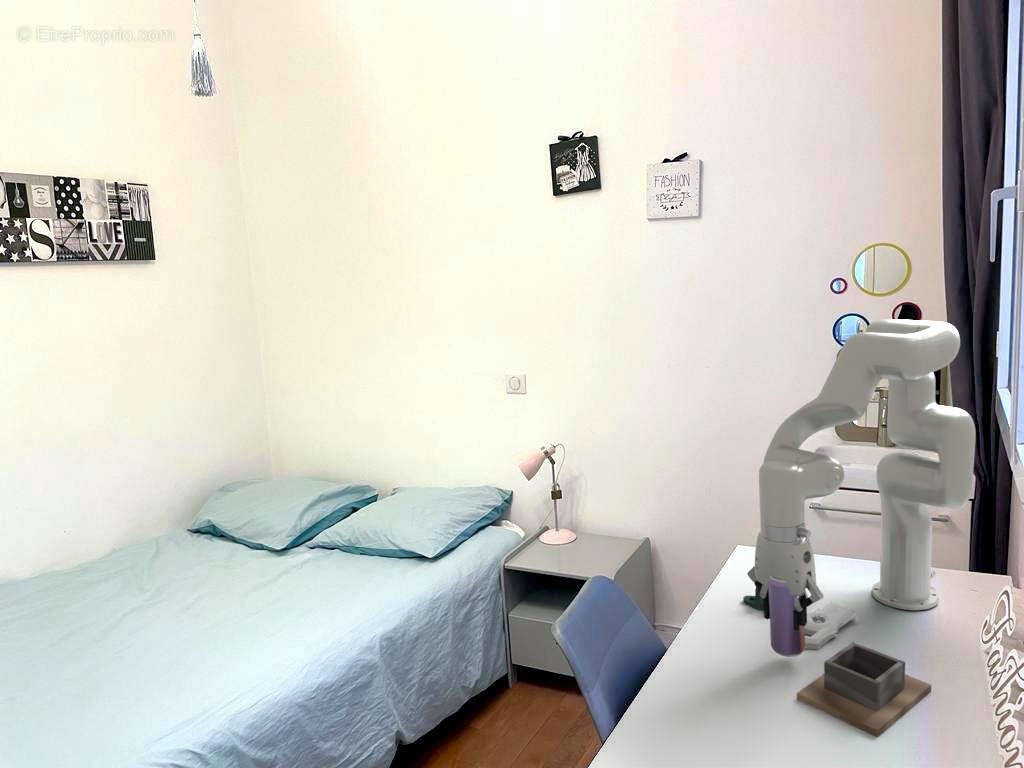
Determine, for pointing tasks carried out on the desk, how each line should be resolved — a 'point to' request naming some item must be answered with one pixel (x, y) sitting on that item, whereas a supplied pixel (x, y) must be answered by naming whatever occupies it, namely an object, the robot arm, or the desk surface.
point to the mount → (754, 600)
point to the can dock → (864, 689)
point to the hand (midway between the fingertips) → (784, 621)
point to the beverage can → (784, 620)
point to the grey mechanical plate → (826, 624)
